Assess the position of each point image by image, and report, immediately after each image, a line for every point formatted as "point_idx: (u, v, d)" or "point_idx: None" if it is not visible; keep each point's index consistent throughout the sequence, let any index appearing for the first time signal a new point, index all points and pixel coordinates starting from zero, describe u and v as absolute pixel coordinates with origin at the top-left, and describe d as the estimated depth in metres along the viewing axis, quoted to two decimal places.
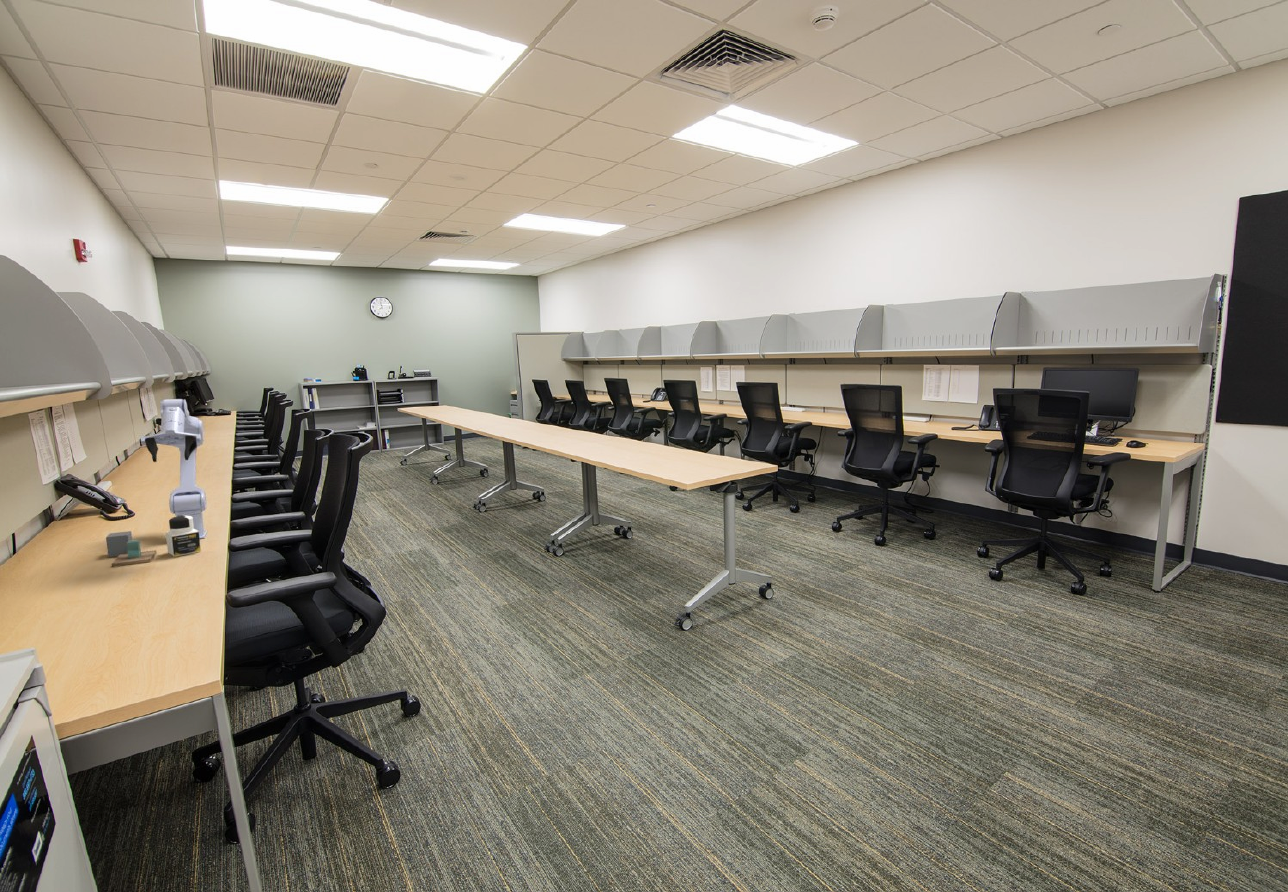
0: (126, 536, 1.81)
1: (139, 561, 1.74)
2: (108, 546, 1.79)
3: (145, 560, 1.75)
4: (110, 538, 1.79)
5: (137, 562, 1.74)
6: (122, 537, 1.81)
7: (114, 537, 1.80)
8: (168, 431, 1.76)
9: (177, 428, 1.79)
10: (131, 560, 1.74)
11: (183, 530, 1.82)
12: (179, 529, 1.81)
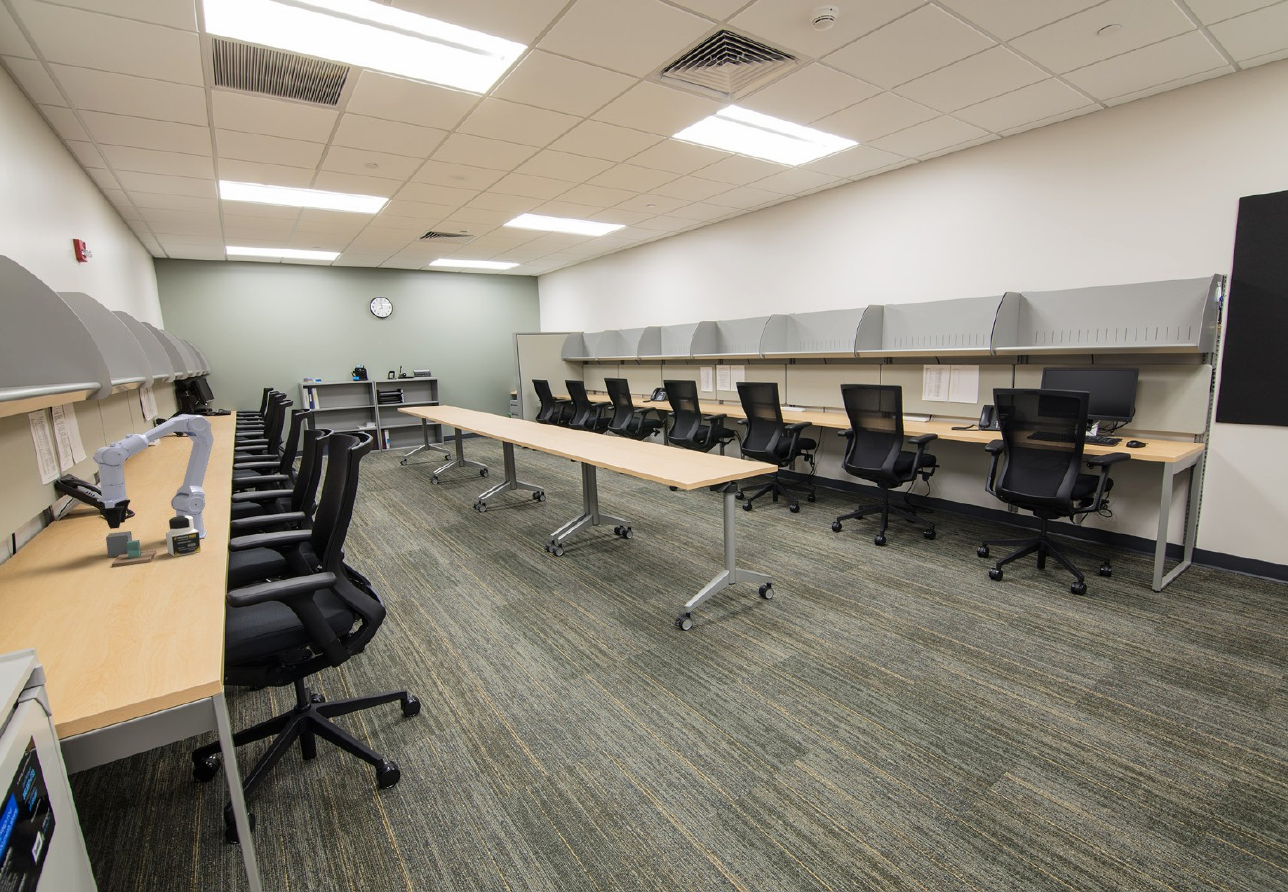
0: (126, 536, 1.81)
1: (139, 561, 1.74)
2: (108, 546, 1.79)
3: (145, 560, 1.75)
4: (110, 538, 1.79)
5: (137, 562, 1.74)
6: (122, 537, 1.81)
7: (114, 537, 1.80)
8: None
9: (102, 494, 1.78)
10: (131, 560, 1.74)
11: (183, 530, 1.82)
12: (179, 529, 1.81)
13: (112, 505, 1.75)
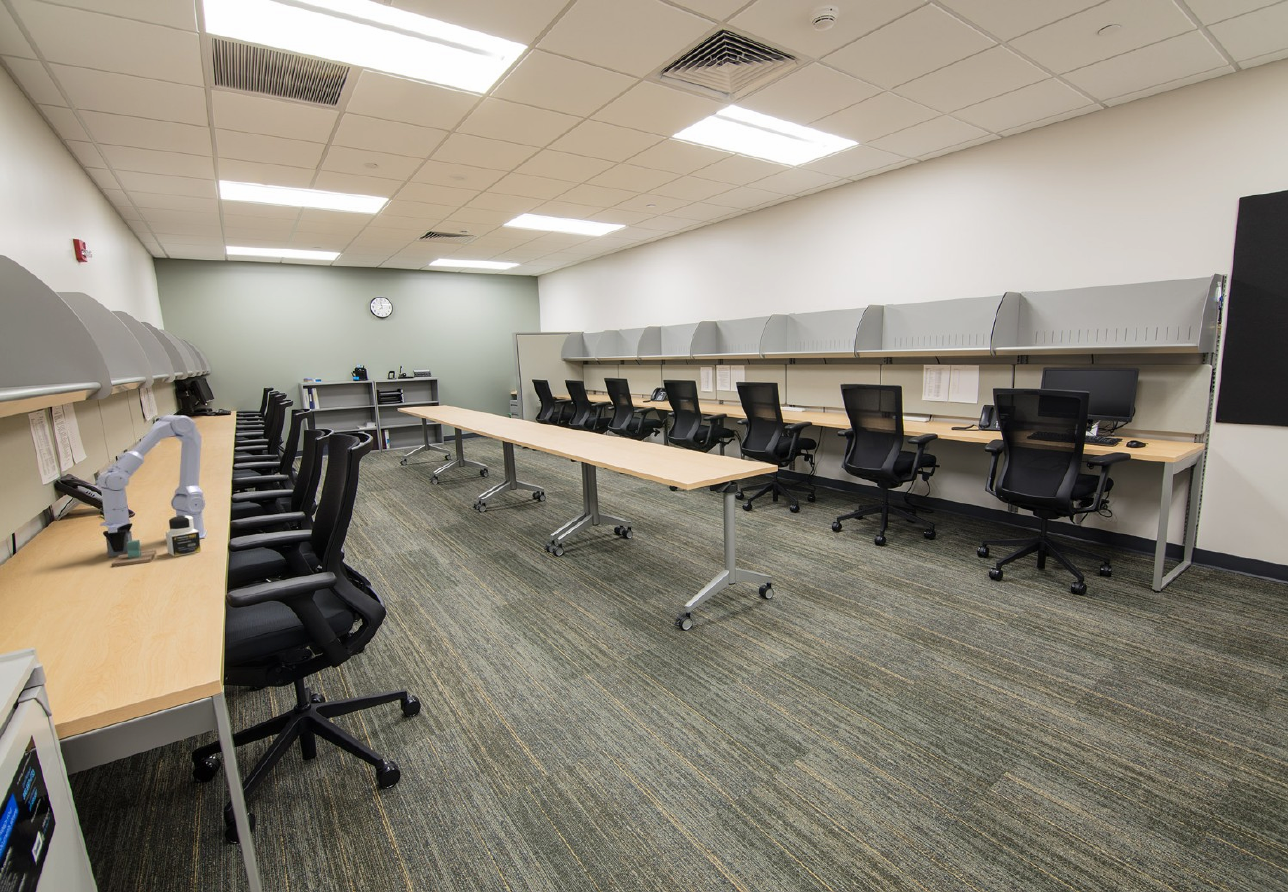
0: (126, 536, 1.81)
1: (139, 561, 1.74)
2: (108, 546, 1.79)
3: (145, 560, 1.75)
4: None
5: (137, 562, 1.74)
6: None
7: None
8: None
9: (105, 518, 1.79)
10: (131, 560, 1.74)
11: (183, 530, 1.82)
12: (179, 529, 1.81)
13: (115, 530, 1.76)
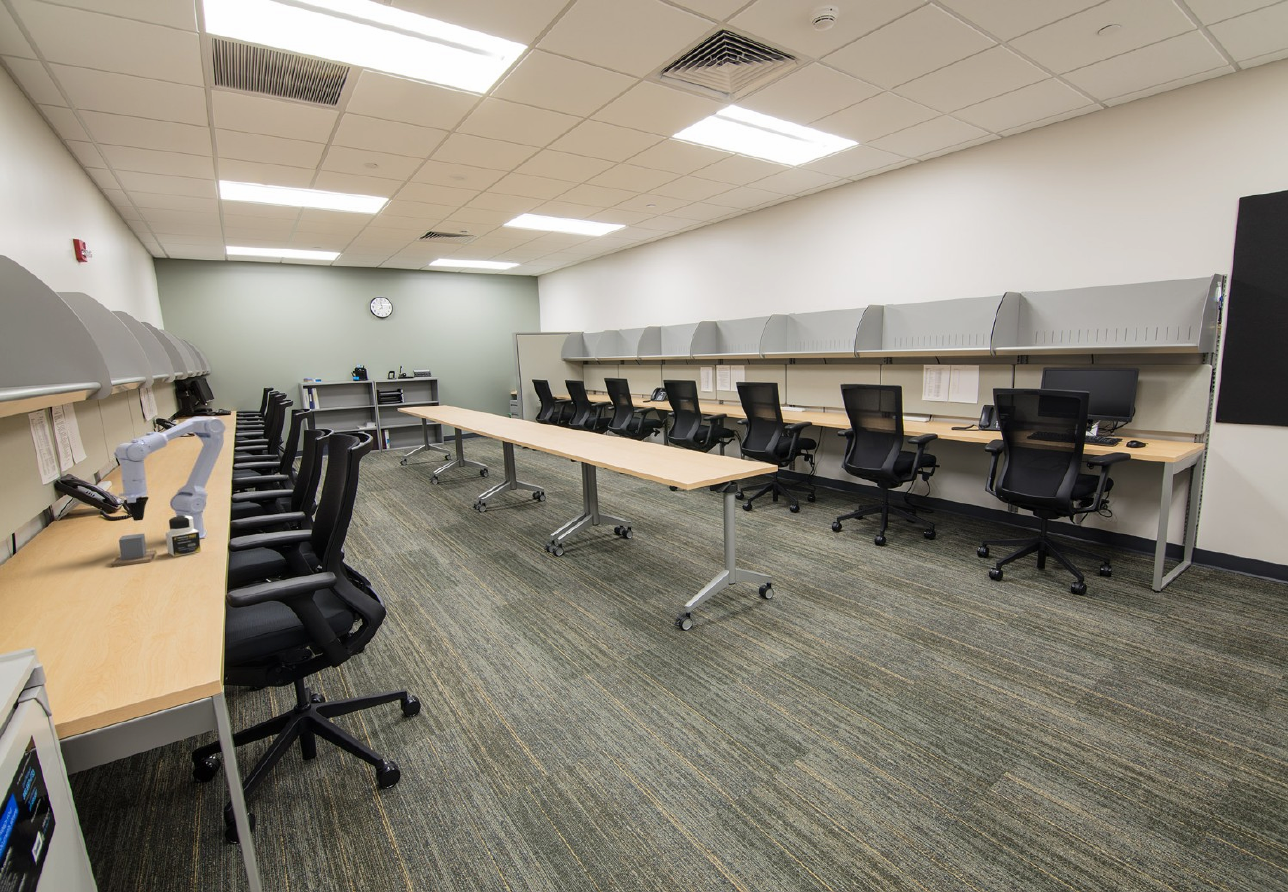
0: (140, 538, 1.75)
1: (139, 561, 1.74)
2: (121, 549, 1.73)
3: (145, 560, 1.75)
4: (123, 540, 1.73)
5: (137, 562, 1.74)
6: (135, 539, 1.75)
7: (127, 540, 1.74)
8: None
9: (124, 489, 1.81)
10: (131, 560, 1.74)
11: (183, 530, 1.82)
12: (179, 529, 1.81)
13: (134, 500, 1.78)
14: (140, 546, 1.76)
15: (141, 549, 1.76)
